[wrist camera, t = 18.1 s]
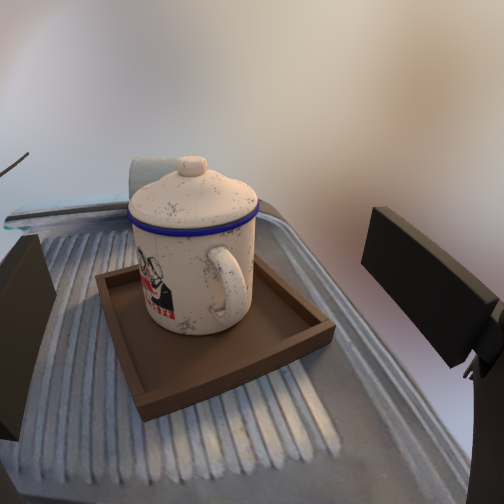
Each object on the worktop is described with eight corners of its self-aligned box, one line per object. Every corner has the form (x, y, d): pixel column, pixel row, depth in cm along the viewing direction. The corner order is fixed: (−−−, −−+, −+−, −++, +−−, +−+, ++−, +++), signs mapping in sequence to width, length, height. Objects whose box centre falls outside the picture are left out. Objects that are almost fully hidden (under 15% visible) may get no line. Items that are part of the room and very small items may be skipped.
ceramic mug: (195, 221, 40) (193, 161, 37) (131, 225, 39) (124, 166, 35) (193, 193, 49) (192, 145, 46) (141, 197, 48) (137, 148, 44)
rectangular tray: (99, 291, 27) (94, 275, 26) (237, 253, 34) (237, 238, 33) (143, 422, 17) (136, 407, 16) (332, 341, 23) (336, 324, 22)
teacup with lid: (134, 283, 28) (116, 154, 22) (226, 261, 32) (227, 140, 26) (173, 386, 19) (142, 211, 13) (296, 342, 22) (320, 184, 17)
